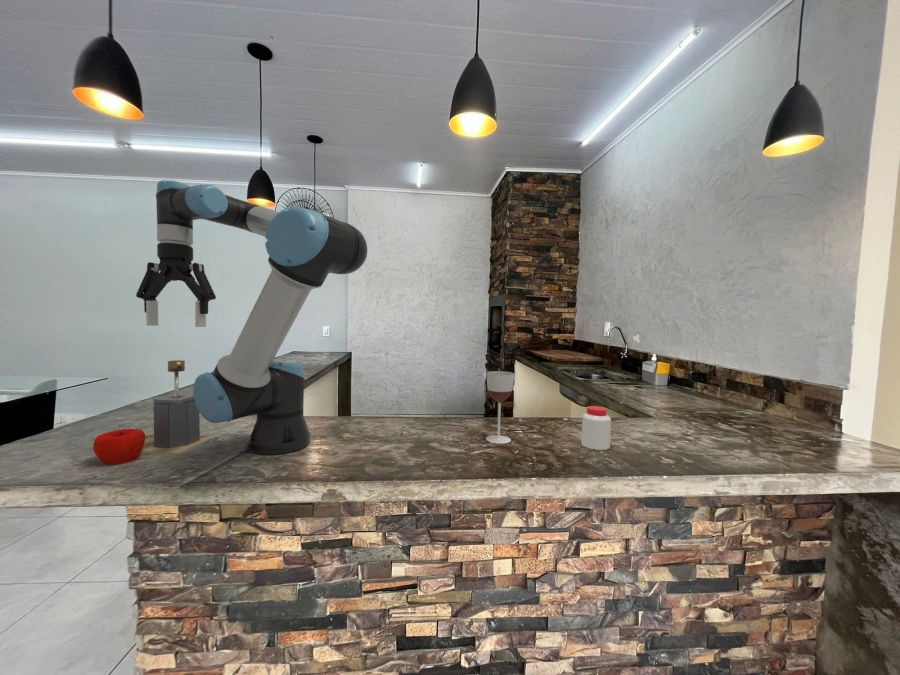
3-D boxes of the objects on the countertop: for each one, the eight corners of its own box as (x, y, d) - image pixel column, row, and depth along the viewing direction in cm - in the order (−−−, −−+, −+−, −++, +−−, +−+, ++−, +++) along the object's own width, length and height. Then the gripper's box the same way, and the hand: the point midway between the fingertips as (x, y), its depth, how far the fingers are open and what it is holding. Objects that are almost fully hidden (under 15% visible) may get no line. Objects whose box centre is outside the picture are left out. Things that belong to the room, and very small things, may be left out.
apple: (87, 475, 80) (87, 439, 79) (101, 461, 88) (101, 428, 87) (140, 468, 84) (140, 434, 84) (149, 455, 92) (149, 424, 91)
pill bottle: (580, 447, 106) (582, 409, 105) (581, 439, 113) (583, 404, 112) (610, 451, 103) (611, 412, 102) (609, 443, 110) (611, 406, 109)
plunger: (198, 431, 102) (197, 360, 101) (178, 438, 95) (177, 362, 94) (175, 430, 102) (175, 359, 101) (154, 437, 96) (153, 362, 95)
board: (216, 440, 104) (216, 436, 104) (178, 458, 91) (178, 453, 91) (143, 436, 105) (143, 432, 105) (96, 452, 93) (96, 448, 92)
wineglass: (516, 438, 113) (518, 372, 112) (504, 445, 105) (506, 376, 104) (492, 433, 117) (494, 370, 116) (479, 440, 110) (481, 373, 109)
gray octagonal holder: (213, 434, 105) (212, 392, 105) (179, 448, 93) (178, 401, 93) (181, 432, 106) (181, 391, 105) (144, 446, 94) (143, 400, 94)
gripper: (230, 247, 99) (231, 327, 100) (144, 247, 101) (145, 324, 102) (210, 241, 91) (210, 327, 92) (117, 241, 93) (118, 325, 94)
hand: (176, 326), depth 97 cm, fingers open, 13 cm apart
